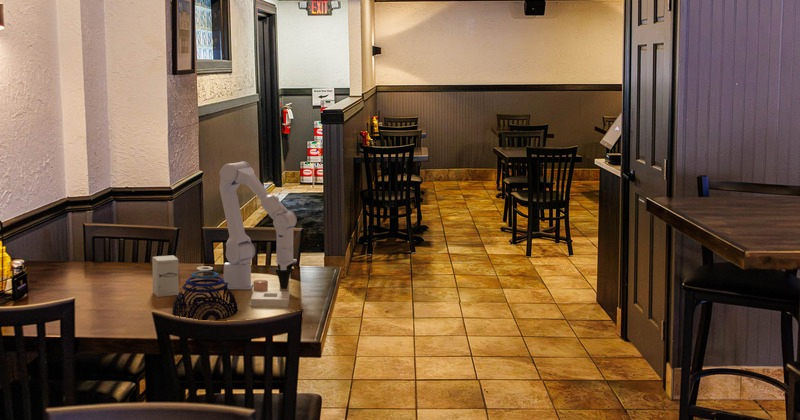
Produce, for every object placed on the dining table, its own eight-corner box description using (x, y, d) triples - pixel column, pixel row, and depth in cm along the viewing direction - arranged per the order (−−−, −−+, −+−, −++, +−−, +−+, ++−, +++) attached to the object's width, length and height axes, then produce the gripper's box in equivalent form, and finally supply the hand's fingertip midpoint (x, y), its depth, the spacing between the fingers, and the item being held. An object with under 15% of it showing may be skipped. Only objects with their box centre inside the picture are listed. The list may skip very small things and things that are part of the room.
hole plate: (250, 306, 281) (250, 299, 281) (253, 298, 291) (253, 291, 291) (287, 306, 282) (287, 299, 282) (289, 298, 292) (289, 291, 292)
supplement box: (157, 297, 289) (156, 260, 286) (152, 292, 295) (151, 256, 293) (179, 295, 292) (178, 259, 290) (174, 290, 298) (173, 254, 296)
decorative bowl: (178, 324, 261) (177, 277, 259) (168, 306, 279) (167, 263, 277) (243, 318, 269) (243, 273, 267) (229, 301, 287) (229, 259, 285)
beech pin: (279, 295, 296) (279, 272, 294) (280, 293, 299) (280, 270, 298) (288, 295, 296) (289, 272, 295) (289, 293, 299) (289, 270, 298)
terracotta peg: (252, 297, 292) (252, 283, 292) (254, 293, 297) (254, 279, 296) (267, 297, 293) (267, 283, 292) (268, 293, 297) (268, 279, 297)
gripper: (295, 251, 288) (295, 291, 290) (297, 242, 302) (297, 280, 304) (274, 251, 287) (274, 291, 290) (277, 242, 302) (277, 280, 304)
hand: (284, 285), depth 297 cm, fingers open, 7 cm apart
